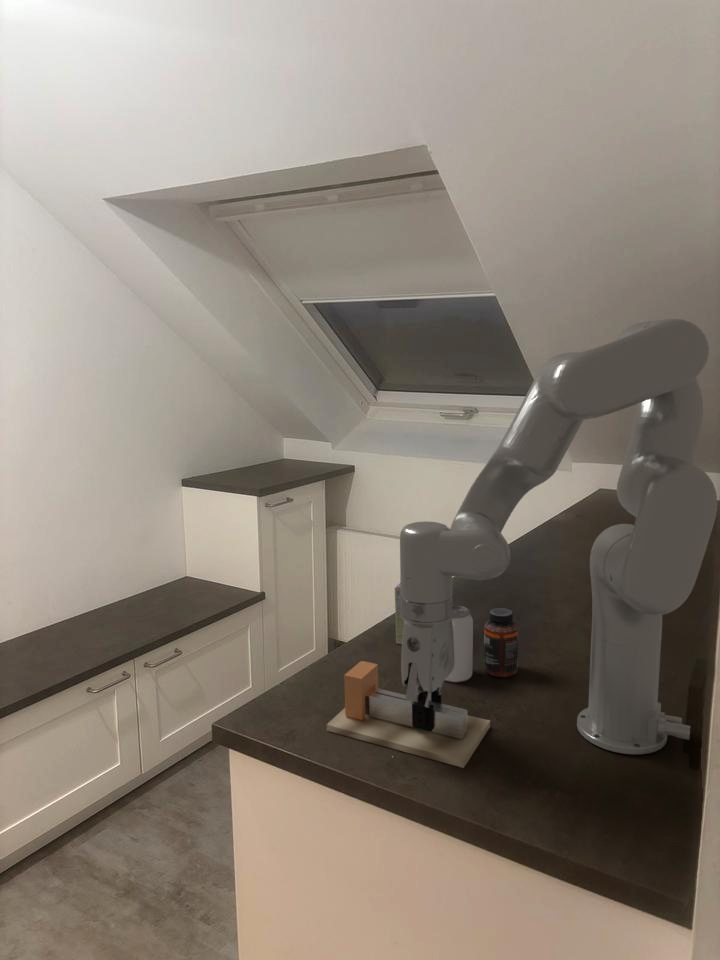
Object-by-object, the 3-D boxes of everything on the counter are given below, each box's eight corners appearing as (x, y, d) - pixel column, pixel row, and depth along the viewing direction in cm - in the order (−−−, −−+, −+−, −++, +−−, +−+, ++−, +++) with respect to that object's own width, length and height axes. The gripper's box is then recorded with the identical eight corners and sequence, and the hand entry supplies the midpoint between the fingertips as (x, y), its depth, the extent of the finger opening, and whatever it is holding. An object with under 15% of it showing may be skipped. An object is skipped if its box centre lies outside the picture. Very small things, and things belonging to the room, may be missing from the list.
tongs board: (326, 730, 105) (326, 709, 104) (363, 696, 115) (362, 676, 115) (463, 768, 95) (463, 744, 94) (490, 726, 105) (490, 705, 104)
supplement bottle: (522, 668, 124) (524, 609, 122) (510, 681, 119) (511, 620, 117) (491, 661, 127) (492, 603, 125) (478, 673, 123) (479, 613, 121)
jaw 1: (369, 716, 106) (369, 695, 106) (372, 712, 107) (372, 692, 107) (461, 739, 99) (461, 717, 99) (464, 735, 100) (464, 713, 100)
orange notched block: (345, 715, 107) (344, 675, 105) (362, 699, 112) (361, 660, 110) (362, 720, 105) (361, 679, 104) (378, 703, 110) (377, 664, 109)
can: (428, 675, 122) (428, 611, 120) (451, 663, 127) (451, 601, 125) (457, 687, 118) (457, 621, 116) (479, 674, 122) (480, 610, 120)
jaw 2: (373, 711, 108) (373, 691, 107) (377, 708, 109) (377, 688, 108) (464, 734, 100) (464, 713, 100) (467, 731, 101) (467, 709, 101)
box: (410, 625, 145) (409, 571, 143) (436, 628, 143) (436, 574, 141) (394, 644, 136) (394, 587, 134) (422, 648, 134) (422, 590, 132)
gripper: (429, 631, 91) (429, 757, 94) (469, 593, 105) (468, 704, 108) (378, 622, 95) (381, 744, 98) (423, 587, 109) (424, 694, 112)
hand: (426, 722), depth 103 cm, fingers open, 2 cm apart
